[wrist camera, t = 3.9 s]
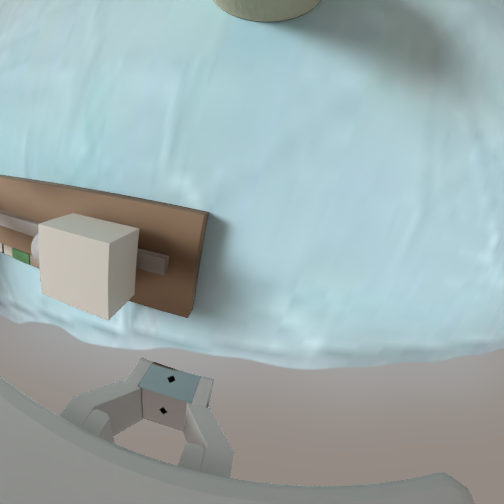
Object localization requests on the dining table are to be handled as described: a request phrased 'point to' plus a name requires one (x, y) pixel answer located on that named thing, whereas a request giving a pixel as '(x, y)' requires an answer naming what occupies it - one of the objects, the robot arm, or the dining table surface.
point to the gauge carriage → (87, 262)
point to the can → (266, 9)
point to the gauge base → (122, 212)
